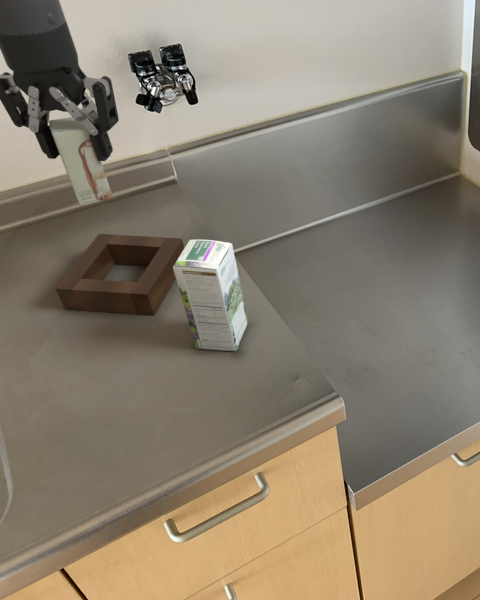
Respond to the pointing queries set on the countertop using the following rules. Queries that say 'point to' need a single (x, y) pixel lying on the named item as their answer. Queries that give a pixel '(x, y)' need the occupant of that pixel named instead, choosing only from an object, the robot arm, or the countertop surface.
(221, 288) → the syrup box
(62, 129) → the white product box
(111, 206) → the countertop surface
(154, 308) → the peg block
